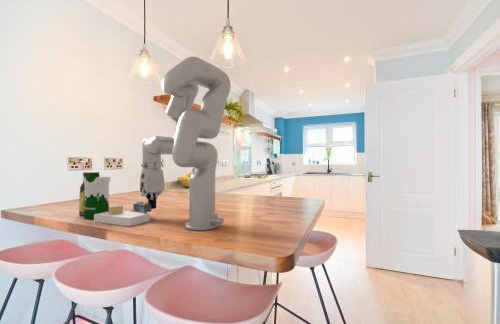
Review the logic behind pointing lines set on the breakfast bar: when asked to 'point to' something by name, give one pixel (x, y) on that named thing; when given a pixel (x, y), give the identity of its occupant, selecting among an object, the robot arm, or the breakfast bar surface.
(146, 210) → the latch arm
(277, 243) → the breakfast bar surface
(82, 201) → the sauce bottle
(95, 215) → the grey base with block
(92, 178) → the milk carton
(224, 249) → the breakfast bar surface
